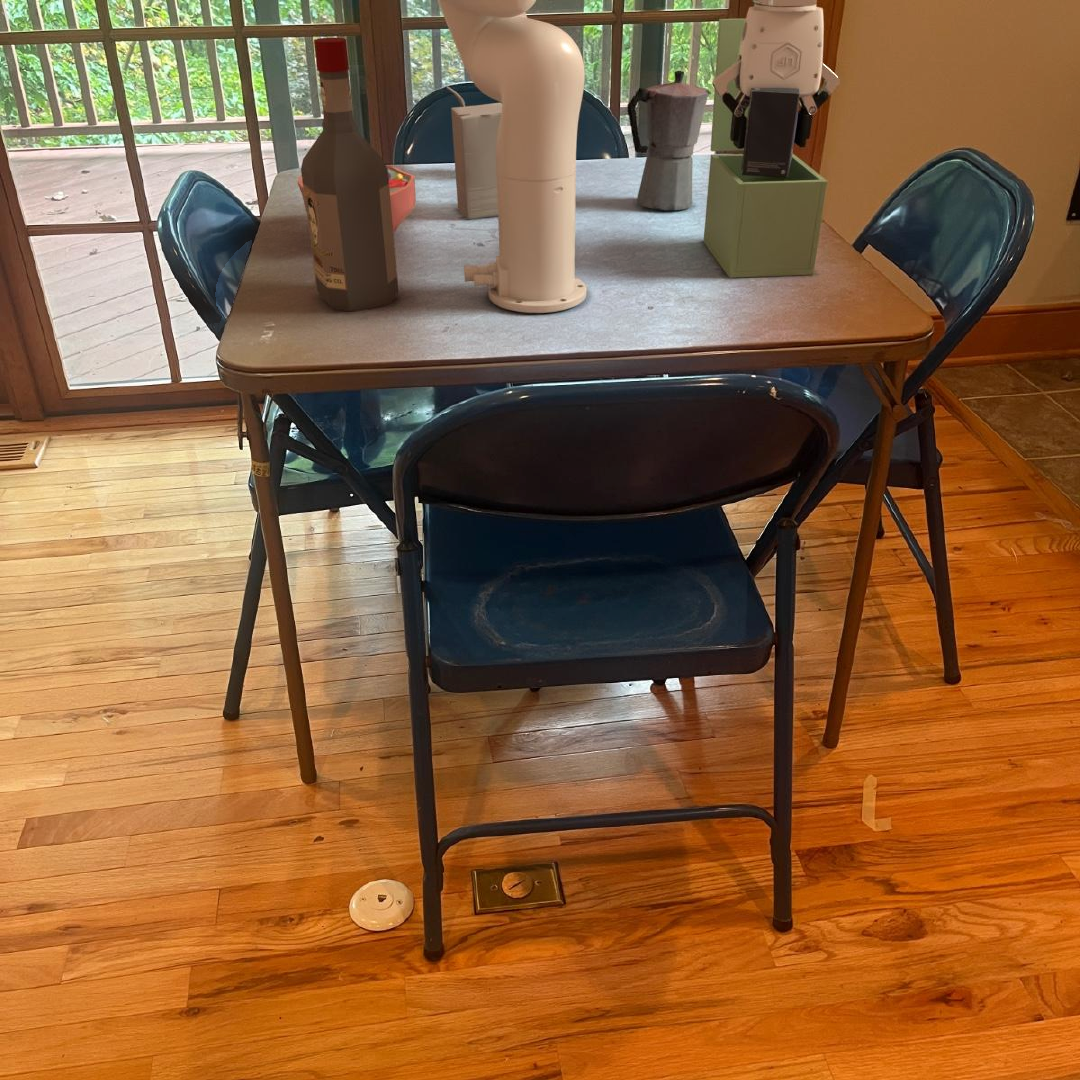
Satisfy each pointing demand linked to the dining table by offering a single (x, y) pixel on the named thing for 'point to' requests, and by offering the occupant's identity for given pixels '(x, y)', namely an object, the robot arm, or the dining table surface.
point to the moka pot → (668, 141)
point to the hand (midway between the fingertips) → (768, 145)
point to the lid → (726, 57)
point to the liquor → (347, 198)
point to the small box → (770, 132)
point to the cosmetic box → (476, 158)
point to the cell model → (394, 194)
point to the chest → (763, 219)
